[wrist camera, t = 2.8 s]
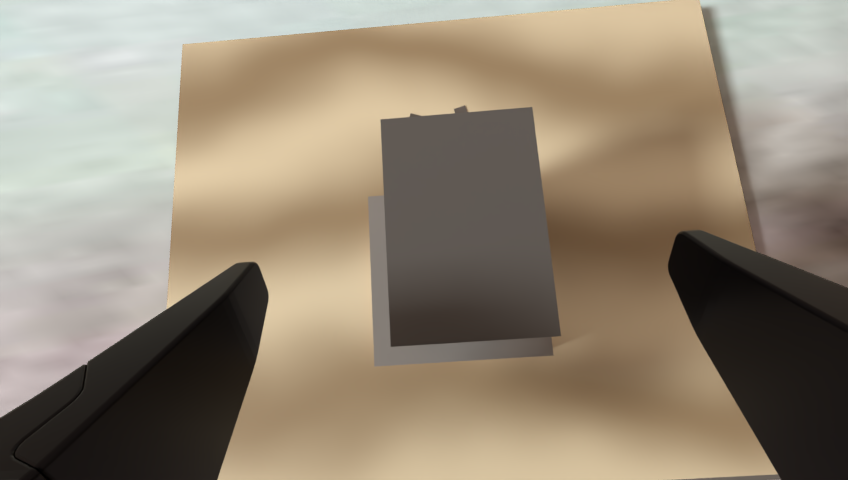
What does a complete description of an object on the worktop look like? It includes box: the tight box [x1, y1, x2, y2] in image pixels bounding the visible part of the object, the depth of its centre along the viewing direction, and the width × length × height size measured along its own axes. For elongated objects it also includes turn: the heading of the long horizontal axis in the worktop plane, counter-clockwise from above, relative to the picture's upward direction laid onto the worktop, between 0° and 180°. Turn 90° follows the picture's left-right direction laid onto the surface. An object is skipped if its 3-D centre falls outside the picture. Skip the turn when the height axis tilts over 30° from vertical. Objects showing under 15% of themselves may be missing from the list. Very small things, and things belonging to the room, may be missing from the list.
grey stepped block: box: [368, 107, 561, 367], centre depth 12 cm, size 6×6×9 cm
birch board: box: [167, 0, 780, 480], centre depth 18 cm, size 20×24×2 cm
